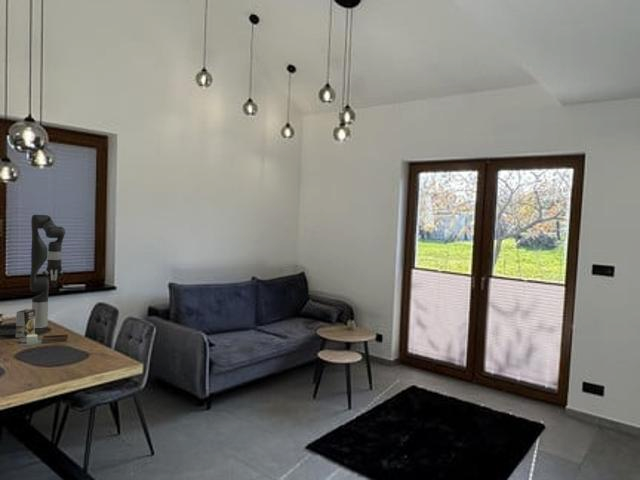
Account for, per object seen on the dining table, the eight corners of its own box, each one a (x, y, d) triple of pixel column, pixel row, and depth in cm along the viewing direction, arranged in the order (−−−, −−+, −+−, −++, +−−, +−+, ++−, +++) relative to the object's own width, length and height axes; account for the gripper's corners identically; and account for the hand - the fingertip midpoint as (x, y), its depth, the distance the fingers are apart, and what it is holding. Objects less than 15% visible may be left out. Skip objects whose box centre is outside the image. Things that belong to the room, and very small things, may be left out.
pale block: (27, 341, 270) (27, 334, 270) (37, 340, 272) (37, 334, 272) (26, 343, 265) (26, 337, 265) (36, 343, 268) (36, 336, 268)
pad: (22, 340, 272) (22, 339, 272) (43, 339, 277) (43, 338, 277) (19, 346, 262) (19, 345, 261) (41, 345, 266) (41, 344, 266)
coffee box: (25, 338, 278) (26, 312, 277) (15, 337, 278) (15, 311, 277) (35, 334, 287) (35, 309, 286) (25, 333, 287) (25, 308, 286)
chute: (43, 339, 277) (43, 334, 277) (67, 338, 283) (68, 333, 283) (41, 345, 266) (41, 339, 266) (66, 343, 272) (66, 338, 272)
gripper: (67, 258, 288) (66, 285, 289) (42, 257, 282) (42, 285, 283) (66, 259, 281) (65, 287, 282) (41, 259, 275) (40, 287, 276)
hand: (53, 286), depth 283 cm, fingers closed
